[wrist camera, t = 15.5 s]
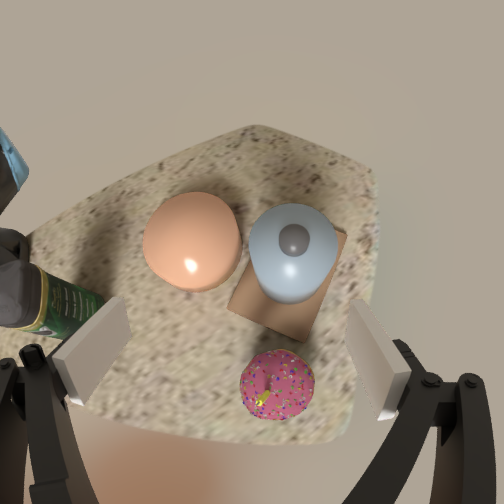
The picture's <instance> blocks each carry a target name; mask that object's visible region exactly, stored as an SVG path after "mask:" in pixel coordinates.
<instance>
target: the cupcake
mask: <svg viewBox="0 0 504 504" xmlns="http://www.w3.org/2000/svg"><path fill="white" fill-rule="evenodd" d="M314 384H315V379H314V374H313V372H312V369H311V367H310V366H309V365H308V363H307V362H305V361H304V360H303V359H302V358H300V357H299V356H297V355H296V354H295V353H293V352H291V351H289V350H285V349H276V350H272V351H268V352H265V353H261V354H258V355H256V356H255V357H254V358H253V359H252V361H251V362H250V363H249V364H248V366H247V367H246V368H245V370H244V371H243V372H242V375H241V379H240V393H241V396H242V399H243V404H245V406H246V407H247V409H248V410H249V411H250V414H253V415H254V416H256V417H258V418H260V419H270V420H284V419H287V418H290V417H292V416H295V415H298V414H300V413H301V412H302V411H303V410H304V409H306V406H307V405H308V403H309V402H310V400H311V399H312V396H313V392H314Z"/></svg>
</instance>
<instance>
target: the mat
mask: <svg viewBox="0 0 504 504" xmlns="http://www.w3.org/2000/svg"><path fill="white" fill-rule="evenodd" d="M335 232H336V235H337V240H338V252H337V257H336V260H335V262H334V264H333V266H332V268H331V269H330V271H329V273H328V274H327V276H326V278H325V279H324V281H323V283H322V284H321V286H320V288H319V289H318V291H317V292H316V293H315V294H314V295H313V296H312V297H311V298H310V299H308V300H306V301H304V302H302V303H299V304H294V305H286V304H281V303H278V302H275V301H273V300H271V299H270V298H269V297H267V296H266V295H265V294H264V293H263V291H262V290H261V288H260V287H259V285H258V282H257V279H256V275H255V271H254V268H253V264H252V260H251V259H250V261H249V263H248V265H247V267H246V270H245V272H244V274H243V276H242V278H241V280H240V282H239V284H238V286H237V288H236V290H235V292H234V294H233V296H232V298H231V300H230V302H229V304H228V306H227V309H228V310H230V311H232V312H234V313H237V314H239V315H241V316H243V317H245V318H247V319H250V320H252V321H254V322H256V323H258V324H261V325H263V326H265V327H267V328H269V329H272V330H274V331H276V332H279V333H281V334H283V335H286V336H288V337H290V338H293V339H295V340H297V341H300V342H302V343H305V341H306V339H307V336H308V334H309V332H310V330H311V327H312V325H313V323H314V320H315V318H316V316H317V313H318V311H319V309H320V306H321V304H322V301H323V299H324V296H325V294H326V291H327V289H328V286H329V284H330V281H331V279H332V276H333V274H334V271H335V268H336V266H337V263H338V260H339V258H340V255H341V252H342V249H343V247H344V244H345V241H346V238H347V235H346V234H344V233H342V232H339V231H337V230H335Z"/></svg>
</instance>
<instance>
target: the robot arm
mask: <svg viewBox="0 0 504 504" xmlns="http://www.w3.org/2000/svg"><path fill="white" fill-rule="evenodd" d="M28 175H29V168H28V166H27V164H26V162H25V161H24V159H23V158H22V157H21V155H20V154H19V152H18V151H17V149H16V148H15V146H14V145H13V143H12V142H11V141H10V139H9V138H8V136H7V135H6V133H5V132H4V131H3V130H2V129H1V127H0V215H1V214H2V212H3V211H4V209H5V208H6V207H7V205H8V204H9V203H10V201H11V200H12V199H13V197H14V196H15V195H16V194H17V192H18V191H19V190H20V187H21V186H22V185H23V183H24V182H25V181H26V179H27V178H28ZM19 259H21V260H24V261H27V262H28V260H29V247H28V242H27V240H26V238H25V236H24V235H23V234H21V233H19V232H18V231H16V230H13V229H6V228H0V266H1V265H3V264H6V263H8V262H11V261H14V260H19ZM131 337H132V335H131V330H130V326H129V321H128V317H127V312H126V307H125V302H124V297H112V298H111V299H110V300H109V301H108V302H107V303H106V304H105V305H104V306H103V307H101V308H100V309H99V310H98V311H97V312H96V313H95V314H94V315H93V316H92V317H91V318H90V319H89V320H88V321H87V322H86V323H85V324H84V325H83V326H82V327H81V328H80V329H79V330H78V331H77V332H76V333H73V334H71V335H69V336H67V337H66V338H65V339H64V340H63V341H62V343H60V344H59V345H58V347H56V348H55V349H54V350H53V351H52V352H51V353H50V354H49V355H48V356H47V357H45V355H44V352H43V350H42V347H41V346H40V345H39V344H29V345H26V346H25V347H23V348H22V349H21V350H20V351H19V356H20V358H21V360H22V362H23V365H24V367H17V364H16V362H15V360H14V359H13V358H4V359H1V360H0V504H23V497H24V476H25V464H26V455H27V447H28V444H29V452H30V459H31V465H32V470H33V476H34V480H35V484H34V485H30V487H29V492H30V497H31V501H32V504H99V502H98V500H97V498H96V495H95V493H94V491H93V488H92V486H91V483H90V480H89V478H88V475H87V473H86V470H85V467H84V464H83V461H82V458H81V455H80V452H79V449H78V446H77V442H76V439H75V435H74V431H73V428H72V424H71V420H70V416H69V412H68V407H67V403H66V401H65V399H64V397H65V396H66V395H67V393H68V395H69V397H70V399H71V401H72V402H73V403H76V404H79V405H83V406H84V405H85V403H86V402H87V400H88V399H89V397H90V396H91V394H92V393H93V391H94V390H95V389H96V387H97V386H98V384H99V383H100V381H101V380H102V378H103V377H104V375H105V374H106V372H107V371H108V370H109V368H110V367H111V365H112V364H113V362H114V361H115V360H116V358H117V357H118V355H119V354H120V353H121V351H122V350H123V348H124V347H125V346H126V344H127V343H128V341H129V340H130V339H131ZM344 341H345V343H346V346H347V348H348V350H349V353H350V355H351V357H352V360H353V362H354V364H355V367H356V369H357V371H358V374H359V376H360V379H361V381H362V384H363V386H364V388H365V391H366V393H367V396H368V398H369V401H370V403H371V406H372V408H373V411H374V413H375V416H376V419H377V420H378V421H379V420H385V419H390V418H393V417H394V415H395V412H396V410H398V412H399V415H398V417H397V419H396V420H395V422H394V424H393V426H392V428H391V430H390V432H389V433H388V435H387V437H386V439H385V440H384V442H383V444H382V446H381V447H380V449H379V451H378V452H377V454H376V456H375V457H374V459H373V460H372V462H371V463H370V465H369V466H368V468H367V469H366V471H365V472H364V474H363V475H362V477H361V478H360V480H359V481H358V483H357V484H356V486H355V487H354V488H353V490H352V491H351V492H350V494H349V495H348V496H347V498H346V499H345V500H344V502H343V503H342V504H394V503H395V501H396V499H397V498H398V496H399V494H400V492H401V490H402V488H403V486H404V484H405V483H406V481H407V479H408V477H409V475H410V472H411V471H412V468H413V466H414V464H415V462H416V460H417V457H418V455H419V453H420V451H421V448H422V446H423V444H424V441H425V438H426V436H427V433H428V431H429V428H430V427H431V426H432V427H434V426H436V427H437V428H438V429H437V446H436V459H435V469H434V477H433V485H432V491H431V498H430V503H429V504H496V463H495V449H494V440H493V431H492V423H491V417H490V411H489V405H488V400H487V395H486V390H485V385H484V382H483V380H482V379H481V378H480V377H479V376H478V375H476V374H472V373H465V374H463V375H461V376H460V378H459V380H458V382H457V383H456V382H443V380H442V379H441V378H440V377H439V376H438V375H436V374H434V373H430V372H426V370H425V369H424V367H423V366H422V365H421V363H420V362H419V360H418V359H417V358H416V357H415V355H414V353H413V352H411V349H410V348H409V346H408V345H407V344H406V343H404V342H403V341H401V340H400V339H397V340H391V338H390V337H389V336H388V334H387V333H386V331H385V330H384V328H383V327H382V325H381V324H380V322H379V321H378V320H377V318H376V317H375V315H374V314H373V312H372V311H371V310H370V308H369V307H368V305H367V304H366V303H365V301H364V300H363V299H352V300H350V306H349V313H348V320H347V327H346V333H345V340H344ZM11 399H12V402H11Z"/></svg>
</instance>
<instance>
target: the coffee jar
mask: <svg viewBox="0 0 504 504" xmlns="http://www.w3.org/2000/svg"><path fill="white" fill-rule="evenodd" d="M104 305H105V302H104V300H103V298H102V297H101V296H100V295H98V294H96V293H94V292H92V291H89V290H86V289H84V288H81V287H78V286H76V285H73V284H71V283H69V282H66V281H64V280H62V279H60V278H57V277H55V276H53V275H51V274H48V273H47V272H45V271H44V270H42V269H41V268H40V267H38V266H37V265H34V264H32V263H29V262H27V261H24V260H21V259H19V260H14V261H11V262H8V263H6V264H3V265H1V266H0V326H3V327H6V328H10V329H15V330H20V331H25V332H29V333H34V334H38V335H43V336H47V337H52V338H57V339H62V340H64V339H65V338H66V337H67V336H69V335H71V334H73V333H76V332H77V331H78V330H79V329H80V328H81V327H82V326H83V325H84V324H85V323H86V322H87V321H88V320H89V319H90V318H91V317H92V316H93V315H94V314H95V313H96V312H97V311H98V310H99V309H100V308H101V307H103V306H104Z"/></svg>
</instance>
